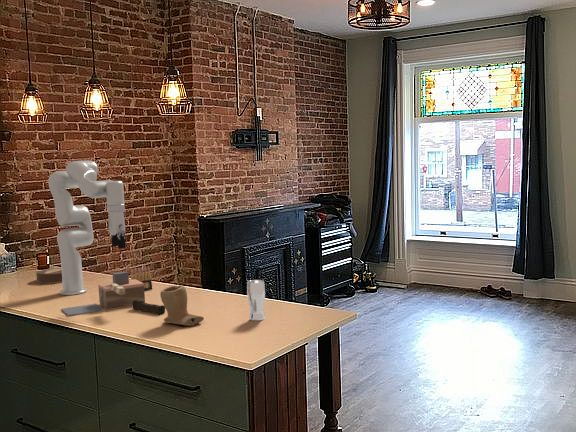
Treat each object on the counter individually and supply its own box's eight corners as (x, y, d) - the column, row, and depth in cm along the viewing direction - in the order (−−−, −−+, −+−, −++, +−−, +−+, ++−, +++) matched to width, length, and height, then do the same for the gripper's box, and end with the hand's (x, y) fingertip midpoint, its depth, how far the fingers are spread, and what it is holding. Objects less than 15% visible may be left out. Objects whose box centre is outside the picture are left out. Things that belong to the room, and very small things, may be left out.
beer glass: (259, 322, 244) (257, 283, 242) (244, 320, 247) (243, 282, 246) (269, 317, 250) (267, 280, 248) (255, 315, 253) (253, 279, 252)
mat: (61, 309, 276) (61, 308, 276) (95, 304, 284) (95, 303, 284) (68, 316, 264) (68, 315, 264) (104, 310, 272) (104, 309, 272)
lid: (98, 289, 283) (97, 273, 282) (135, 283, 292) (134, 268, 291) (106, 293, 273) (104, 277, 272) (144, 288, 282) (143, 272, 281)
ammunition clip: (132, 293, 305) (130, 268, 304) (130, 292, 307) (129, 268, 305) (152, 289, 312) (151, 265, 311) (150, 289, 313) (149, 265, 312)
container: (53, 276, 359) (53, 265, 358) (83, 277, 352) (82, 267, 351) (28, 284, 340) (27, 272, 339) (58, 285, 333) (58, 274, 333)
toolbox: (99, 304, 284) (98, 287, 283) (136, 298, 293) (135, 281, 292) (107, 309, 274) (105, 291, 273) (145, 303, 282) (144, 285, 282)
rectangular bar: (110, 289, 270) (110, 283, 269) (115, 288, 271) (114, 283, 270) (120, 295, 258) (120, 289, 258) (125, 294, 259) (124, 288, 259)
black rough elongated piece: (166, 314, 263) (165, 303, 263) (158, 316, 260) (158, 304, 260) (138, 308, 275) (137, 297, 275) (130, 310, 272) (130, 299, 272)
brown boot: (155, 324, 246) (153, 286, 244) (179, 317, 255) (177, 281, 253) (181, 330, 236) (179, 291, 235) (205, 323, 245) (203, 285, 244)
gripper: (102, 208, 284) (104, 246, 286) (113, 210, 269) (116, 250, 271) (118, 207, 288) (121, 244, 290) (130, 209, 273) (133, 248, 275)
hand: (118, 247), depth 280 cm, fingers open, 9 cm apart
